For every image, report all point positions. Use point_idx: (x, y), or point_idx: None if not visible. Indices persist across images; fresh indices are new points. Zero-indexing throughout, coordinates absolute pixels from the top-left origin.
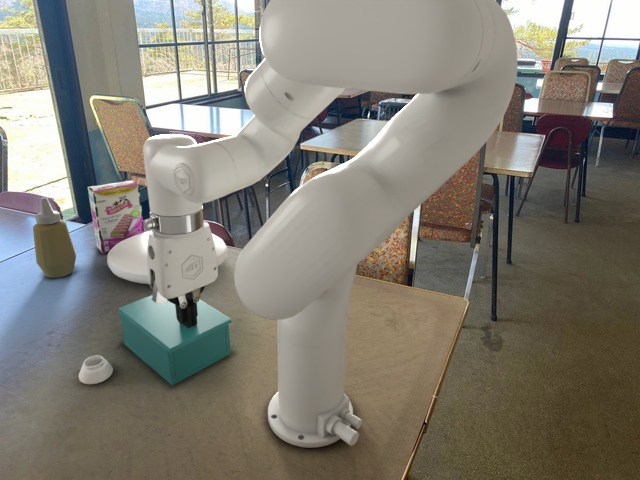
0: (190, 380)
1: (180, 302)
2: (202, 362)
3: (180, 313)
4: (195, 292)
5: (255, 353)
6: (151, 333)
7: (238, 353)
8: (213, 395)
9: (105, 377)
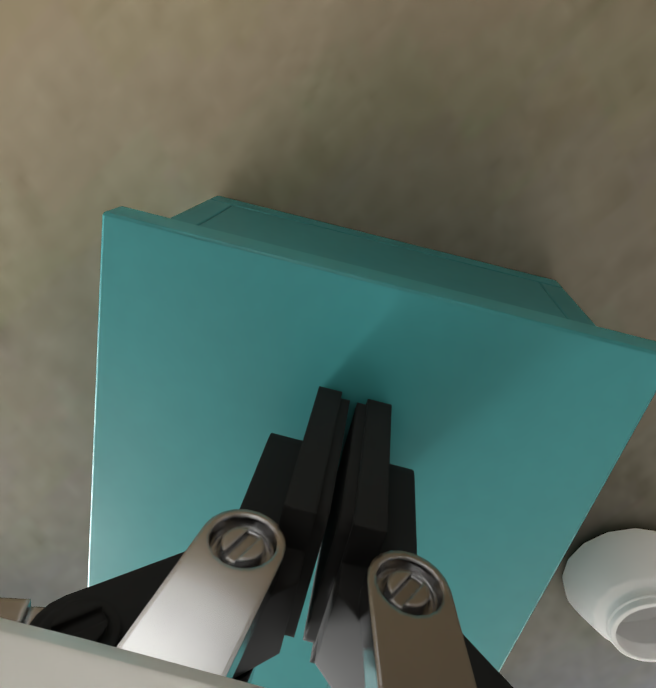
0: (482, 232)
1: (450, 639)
2: (381, 246)
3: (412, 536)
4: (221, 627)
5: (131, 75)
6: (557, 561)
7: (188, 161)
8: (531, 36)
9: (651, 537)
